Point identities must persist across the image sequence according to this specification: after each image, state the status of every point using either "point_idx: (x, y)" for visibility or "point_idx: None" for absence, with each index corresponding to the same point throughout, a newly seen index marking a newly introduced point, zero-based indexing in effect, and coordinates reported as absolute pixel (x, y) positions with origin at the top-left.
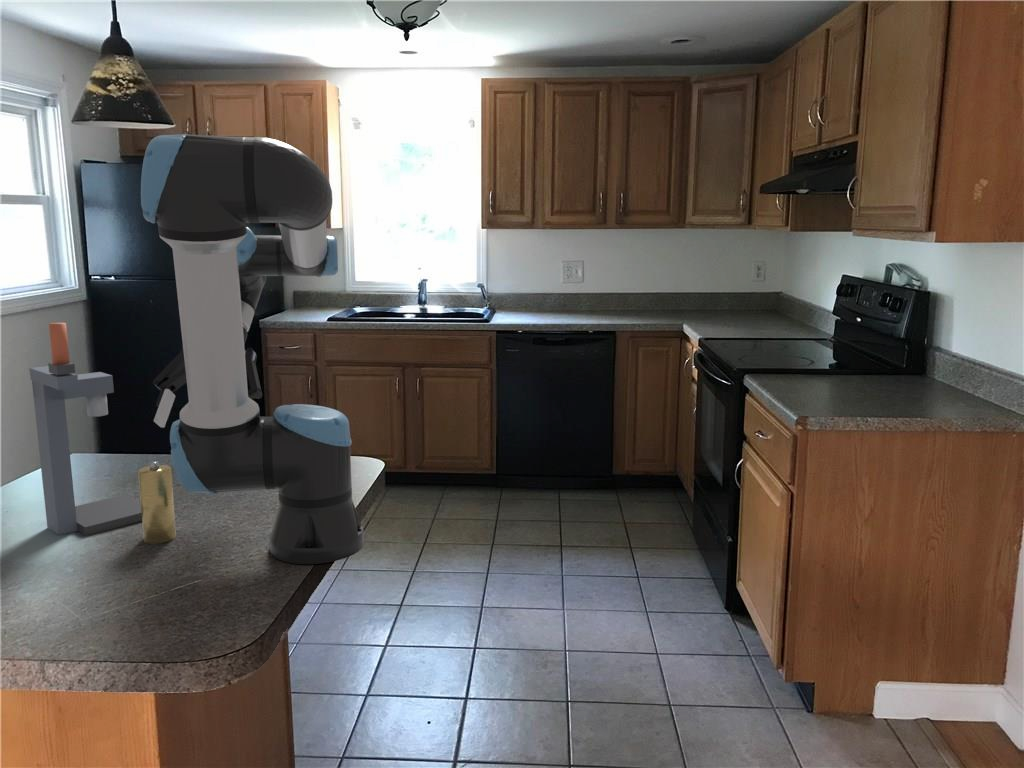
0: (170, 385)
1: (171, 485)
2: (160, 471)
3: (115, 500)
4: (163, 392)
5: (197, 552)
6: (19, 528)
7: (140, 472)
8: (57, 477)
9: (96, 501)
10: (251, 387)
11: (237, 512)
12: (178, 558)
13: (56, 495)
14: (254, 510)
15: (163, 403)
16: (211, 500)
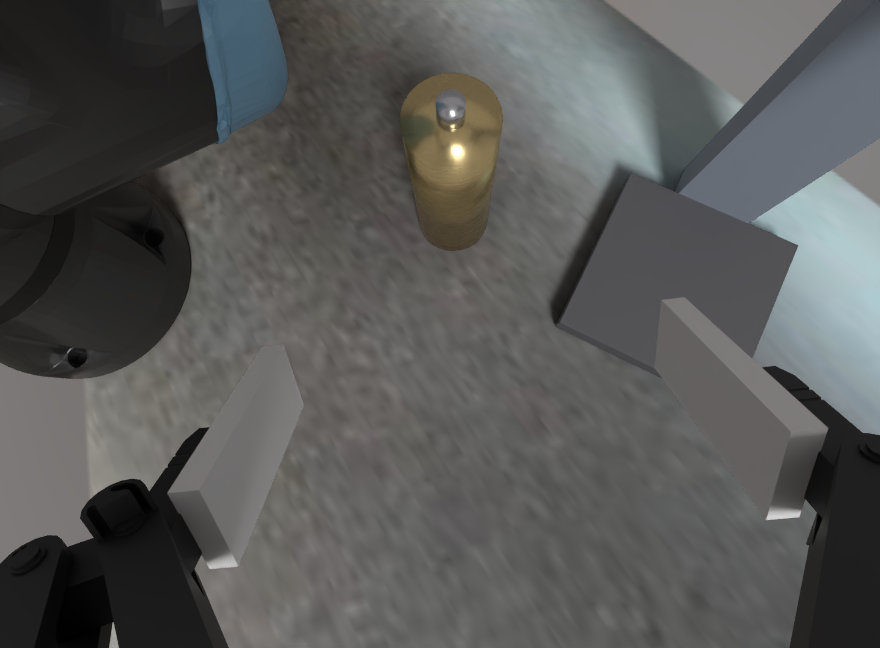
0: (832, 481)
1: (408, 165)
2: (416, 105)
3: None
4: (827, 432)
5: (329, 181)
6: (815, 183)
7: (472, 80)
8: (769, 83)
9: (760, 330)
10: (42, 578)
11: (379, 423)
12: (348, 146)
13: (738, 113)
14: (343, 450)
15: (719, 356)
16: (504, 492)
